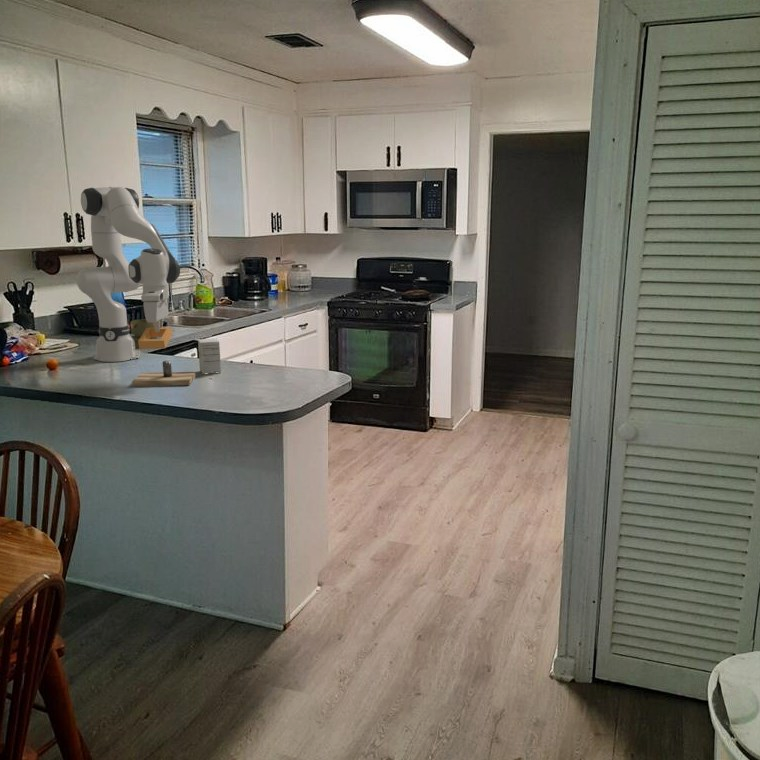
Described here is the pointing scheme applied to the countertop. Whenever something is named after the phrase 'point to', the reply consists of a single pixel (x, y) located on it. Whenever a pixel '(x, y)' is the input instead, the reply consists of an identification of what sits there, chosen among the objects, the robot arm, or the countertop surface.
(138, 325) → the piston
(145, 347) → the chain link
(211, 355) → the supplement box
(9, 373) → the countertop surface
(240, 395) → the countertop surface
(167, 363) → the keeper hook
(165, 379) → the wooden board
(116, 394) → the countertop surface
